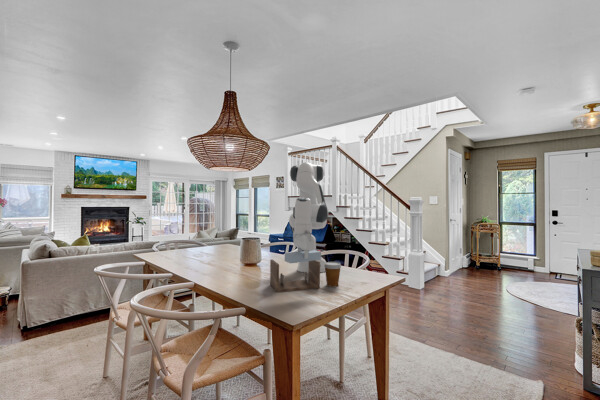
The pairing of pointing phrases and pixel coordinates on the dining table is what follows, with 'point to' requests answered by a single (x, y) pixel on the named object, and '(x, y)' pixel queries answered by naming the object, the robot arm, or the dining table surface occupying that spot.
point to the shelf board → (302, 256)
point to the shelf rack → (309, 280)
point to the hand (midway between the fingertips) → (303, 256)
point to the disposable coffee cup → (332, 273)
